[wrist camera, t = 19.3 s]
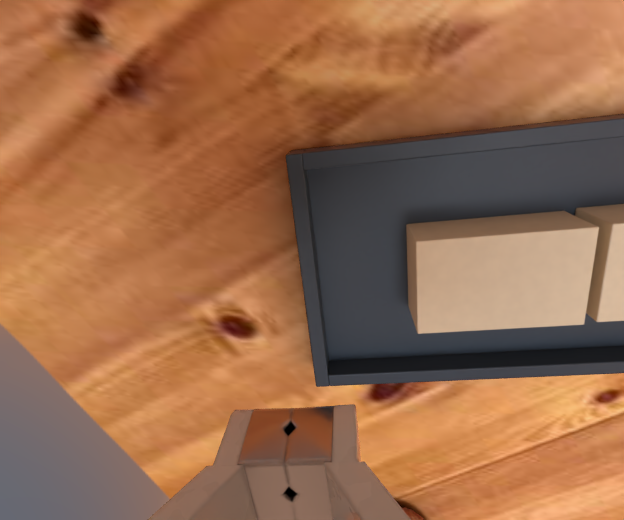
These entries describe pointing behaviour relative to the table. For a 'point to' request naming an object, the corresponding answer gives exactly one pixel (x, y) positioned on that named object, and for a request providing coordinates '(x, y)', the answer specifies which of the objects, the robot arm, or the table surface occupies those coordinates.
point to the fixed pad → (606, 262)
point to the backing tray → (431, 208)
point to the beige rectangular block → (500, 272)
